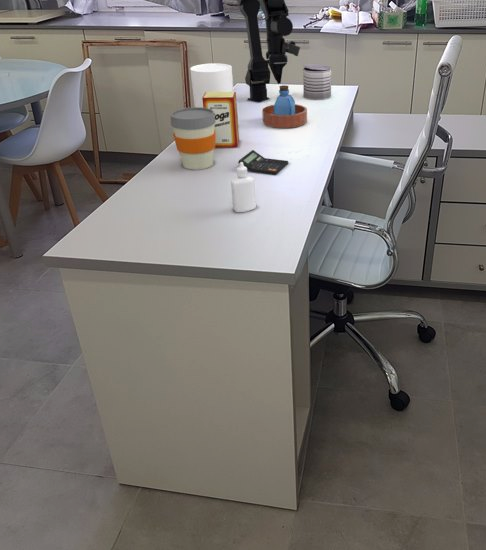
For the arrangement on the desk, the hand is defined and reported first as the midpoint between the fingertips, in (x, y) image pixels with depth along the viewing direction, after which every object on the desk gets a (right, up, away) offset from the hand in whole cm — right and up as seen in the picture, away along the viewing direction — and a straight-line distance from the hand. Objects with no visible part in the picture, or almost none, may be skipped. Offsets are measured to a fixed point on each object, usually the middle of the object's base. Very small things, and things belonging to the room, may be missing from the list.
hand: (278, 81), depth 205 cm
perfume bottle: (+3, -15, -3) cm, 16 cm away
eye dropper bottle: (-5, -54, -65) cm, 84 cm away
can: (+15, +3, +27) cm, 31 cm away
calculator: (-2, -39, -40) cm, 56 cm away
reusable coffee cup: (-22, -37, -37) cm, 57 cm away
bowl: (+3, -15, -3) cm, 16 cm away
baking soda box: (-17, -28, -22) cm, 40 cm away
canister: (-21, -19, -7) cm, 29 cm away
